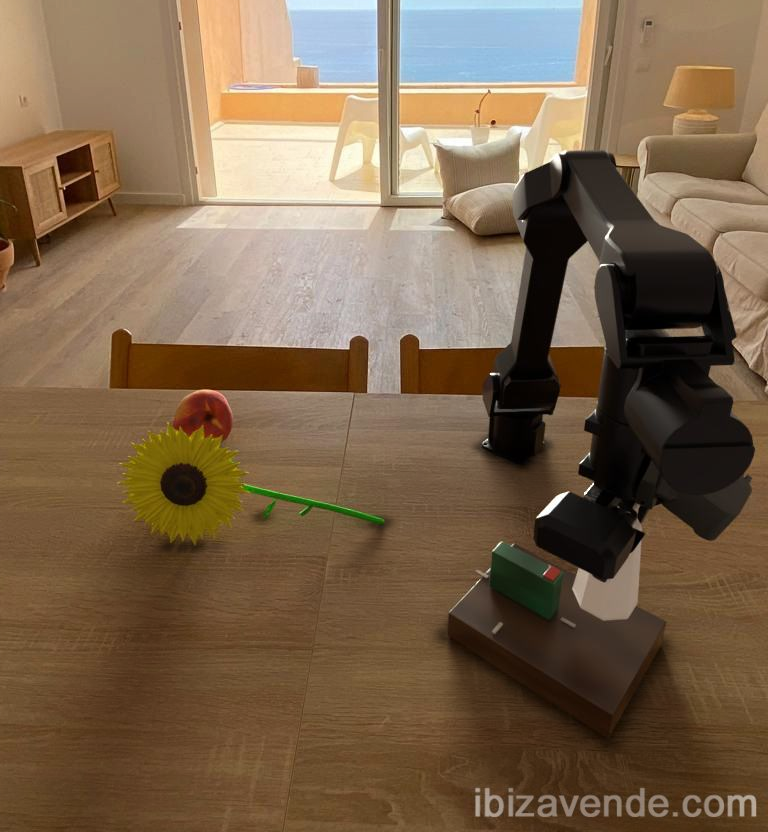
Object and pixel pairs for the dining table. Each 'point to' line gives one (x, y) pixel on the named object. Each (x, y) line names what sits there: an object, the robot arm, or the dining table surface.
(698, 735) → the dining table surface
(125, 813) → the dining table surface
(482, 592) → the dial panel
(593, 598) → the pepper shaker
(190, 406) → the fruit
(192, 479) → the decorative plant
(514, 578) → the pointer knob
